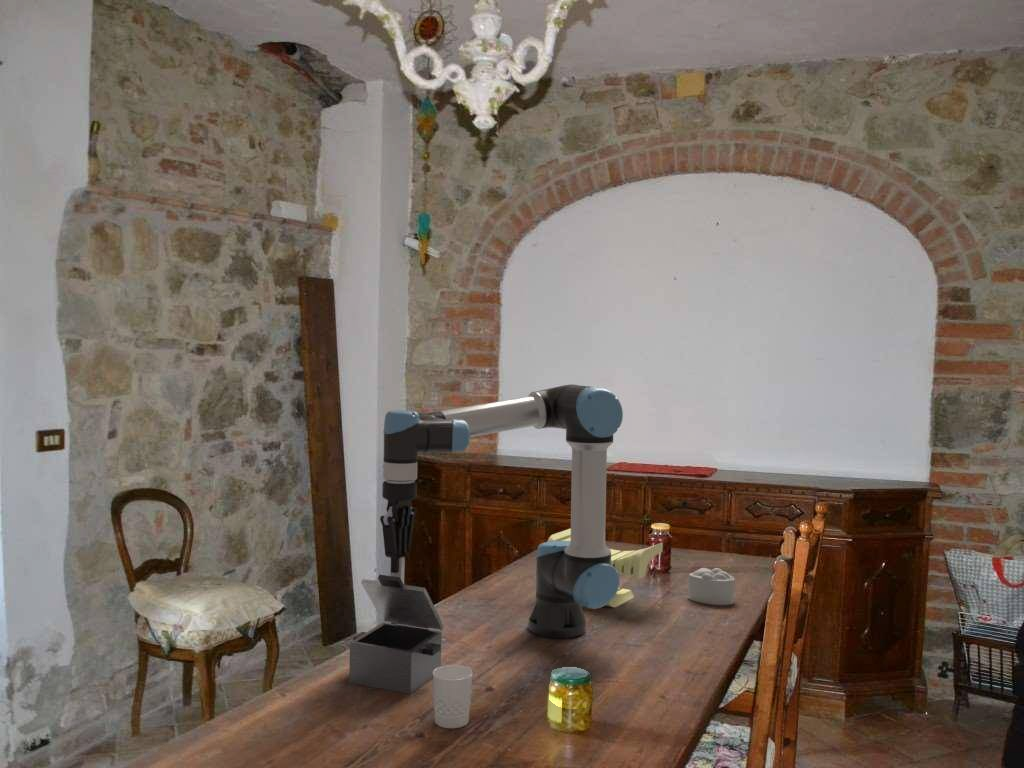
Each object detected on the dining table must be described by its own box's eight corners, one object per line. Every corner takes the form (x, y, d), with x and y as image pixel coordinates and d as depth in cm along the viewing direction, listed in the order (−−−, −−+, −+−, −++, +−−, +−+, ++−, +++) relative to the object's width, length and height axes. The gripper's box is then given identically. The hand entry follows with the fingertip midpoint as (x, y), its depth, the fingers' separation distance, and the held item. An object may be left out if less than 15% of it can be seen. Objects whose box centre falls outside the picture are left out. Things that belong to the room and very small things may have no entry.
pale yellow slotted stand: (544, 596, 263) (546, 536, 262) (570, 584, 276) (572, 527, 275) (637, 616, 247) (639, 552, 246) (660, 602, 260) (662, 542, 259)
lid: (443, 631, 203) (445, 625, 204) (419, 584, 191) (422, 577, 192) (383, 622, 209) (386, 616, 210) (357, 575, 196) (359, 569, 197)
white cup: (431, 713, 180) (432, 664, 180) (470, 712, 181) (471, 664, 180) (431, 730, 172) (432, 680, 172) (472, 730, 173) (473, 679, 173)
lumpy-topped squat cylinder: (699, 591, 272) (700, 563, 272) (739, 599, 265) (741, 571, 264) (684, 599, 264) (685, 570, 263) (726, 608, 256) (727, 578, 256)
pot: (450, 671, 203) (451, 632, 202) (420, 696, 189) (421, 654, 188) (373, 658, 210) (374, 620, 209) (339, 681, 195) (340, 640, 195)
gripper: (398, 475, 204) (396, 576, 205) (370, 483, 192) (367, 591, 193) (428, 478, 201) (425, 581, 203) (401, 486, 189) (398, 595, 190)
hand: (397, 585), depth 198 cm, fingers closed
